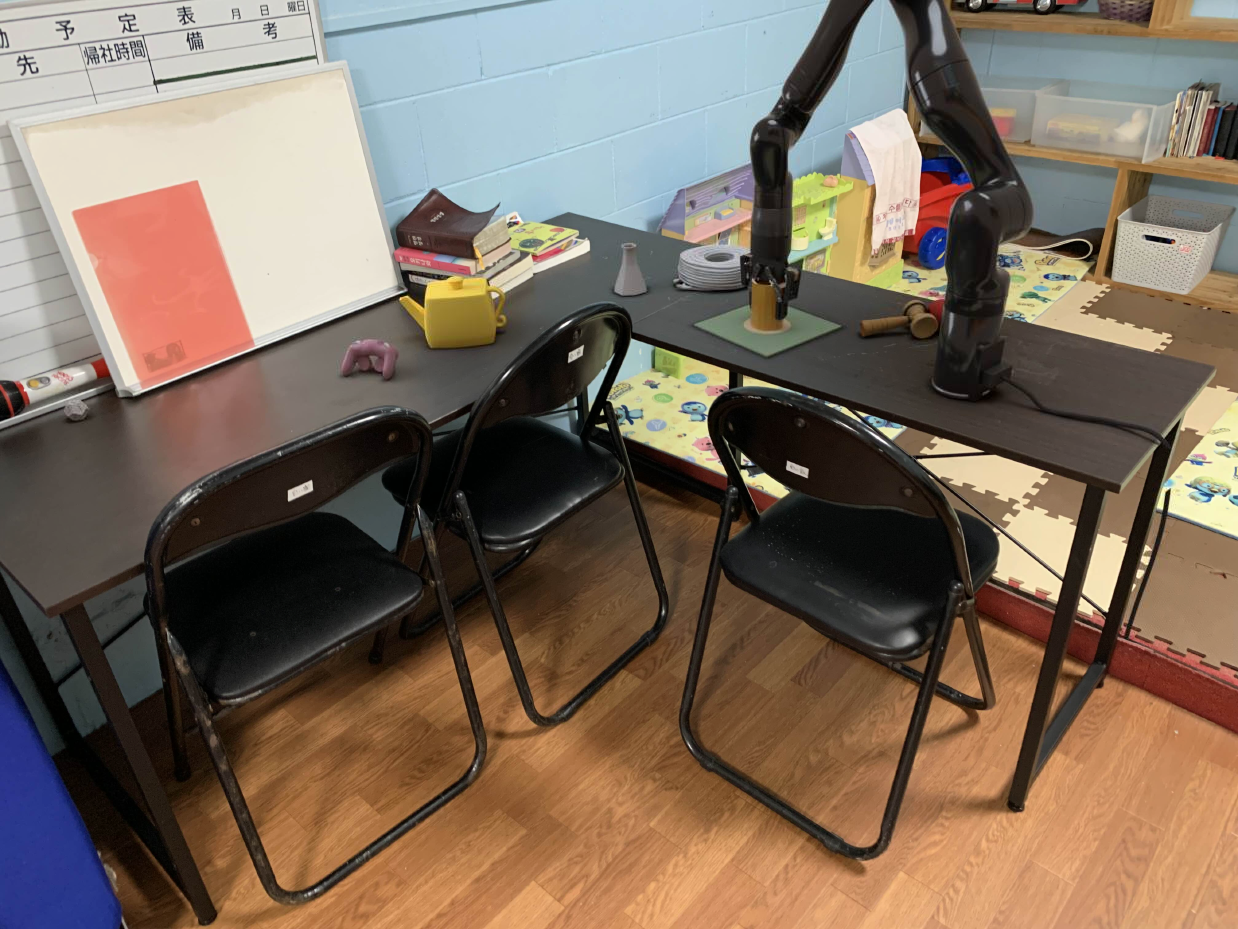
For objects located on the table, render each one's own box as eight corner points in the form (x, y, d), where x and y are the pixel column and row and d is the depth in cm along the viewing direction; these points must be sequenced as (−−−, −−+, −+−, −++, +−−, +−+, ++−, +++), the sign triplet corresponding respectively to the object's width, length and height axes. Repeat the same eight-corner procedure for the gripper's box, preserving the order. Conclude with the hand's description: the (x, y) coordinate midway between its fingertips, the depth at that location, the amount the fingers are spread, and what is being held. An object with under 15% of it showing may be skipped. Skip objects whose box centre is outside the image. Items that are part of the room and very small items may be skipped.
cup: (789, 324, 178) (792, 280, 174) (766, 333, 175) (768, 288, 171) (766, 315, 183) (768, 271, 178) (743, 324, 179) (745, 279, 175)
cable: (669, 290, 198) (668, 263, 195) (687, 263, 212) (687, 238, 209) (750, 296, 193) (751, 268, 190) (763, 268, 207) (764, 242, 204)
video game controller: (400, 380, 169) (402, 341, 168) (387, 379, 165) (390, 340, 164) (352, 375, 172) (354, 338, 171) (338, 375, 167) (340, 336, 167)
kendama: (870, 352, 170) (966, 332, 170) (867, 318, 168) (964, 298, 168) (857, 342, 177) (950, 323, 177) (854, 310, 175) (948, 290, 175)
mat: (841, 327, 177) (841, 325, 177) (767, 357, 167) (767, 355, 167) (766, 300, 191) (766, 297, 191) (694, 326, 181) (694, 323, 181)
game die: (85, 410, 161) (79, 395, 159) (94, 416, 158) (88, 401, 157) (64, 418, 158) (57, 403, 157) (73, 424, 156) (67, 409, 155)
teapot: (404, 353, 176) (393, 294, 170) (409, 327, 186) (399, 271, 180) (509, 344, 177) (502, 285, 171) (508, 319, 188) (502, 263, 182)
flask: (609, 287, 201) (607, 242, 196) (641, 282, 203) (639, 238, 198) (619, 298, 195) (617, 252, 190) (651, 293, 197) (650, 247, 192)
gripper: (729, 224, 172) (727, 308, 181) (785, 241, 162) (781, 330, 171) (758, 215, 176) (755, 299, 185) (815, 232, 166) (809, 319, 175)
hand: (767, 313), depth 178 cm, fingers closed on cup, 6 cm apart
